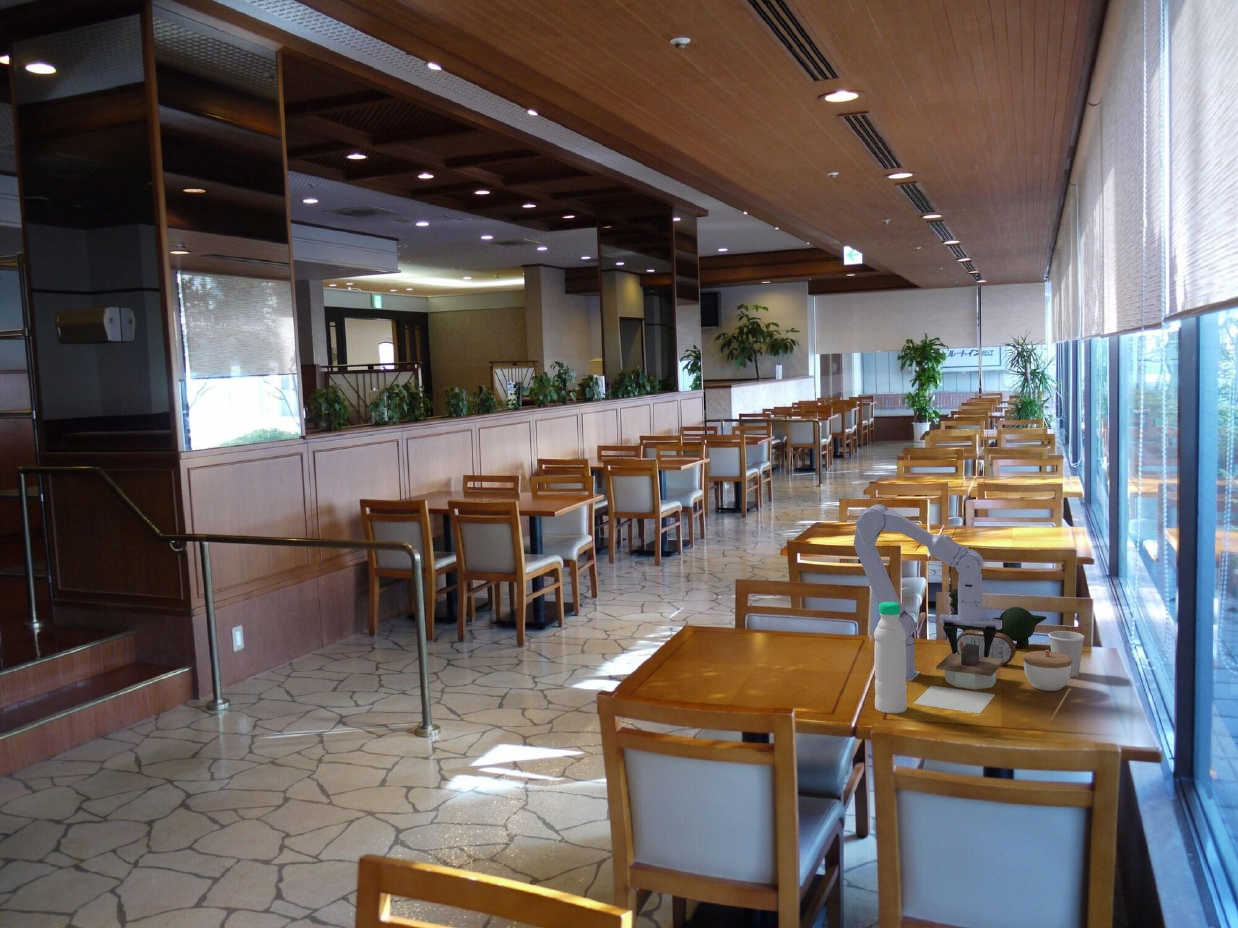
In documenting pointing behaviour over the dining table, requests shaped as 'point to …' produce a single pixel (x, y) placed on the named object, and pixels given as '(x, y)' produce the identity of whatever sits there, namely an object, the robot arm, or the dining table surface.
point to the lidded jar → (1047, 669)
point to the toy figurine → (1007, 622)
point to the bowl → (970, 680)
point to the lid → (970, 662)
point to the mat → (955, 699)
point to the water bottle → (890, 660)
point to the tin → (999, 647)
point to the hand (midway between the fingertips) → (970, 654)
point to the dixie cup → (1068, 647)
